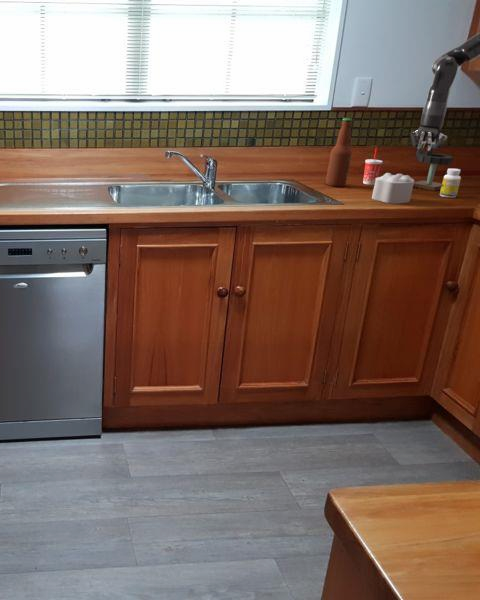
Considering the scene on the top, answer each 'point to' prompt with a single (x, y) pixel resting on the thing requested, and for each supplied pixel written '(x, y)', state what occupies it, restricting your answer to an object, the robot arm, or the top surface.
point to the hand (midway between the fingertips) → (422, 159)
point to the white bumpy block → (393, 188)
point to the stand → (429, 181)
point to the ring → (435, 159)
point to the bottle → (340, 157)
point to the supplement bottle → (450, 183)
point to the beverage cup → (371, 170)
